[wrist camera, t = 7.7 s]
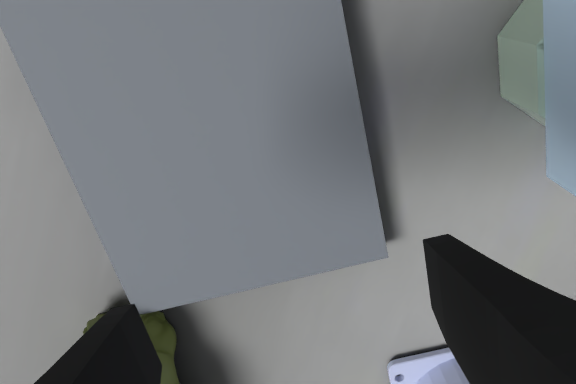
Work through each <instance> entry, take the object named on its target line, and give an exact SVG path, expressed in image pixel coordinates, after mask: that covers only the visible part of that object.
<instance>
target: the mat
mask: <svg viewBox="0 0 576 384" xmlns="http://www.w3.org/2000/svg"><path fill="white" fill-rule="evenodd" d="M0 27H1V29H2V31H3V33H4V35H5V38H6V40H7V42H8V44H9V46H10V48H11V50H12V53H13V55H14V57H15V59H16V61H17V63H18V65H19V67H20V70H21V72H22V74H23V76H24V78H25V80H26V82H27V84H28V87H29V89H30V91H31V93H32V95H33V97H34V99H35V102H36V104H37V106H38V108H39V110H40V112H41V114H42V116H43V119H44V121H45V123H46V125H47V127H48V129H49V131H50V133H51V136H52V138H53V140H54V142H55V144H56V146H57V148H58V151H59V153H60V155H61V157H62V159H63V161H64V163H65V165H66V168H67V170H68V172H69V174H70V176H71V178H72V180H73V183H74V185H75V187H76V189H77V191H78V193H79V195H80V197H81V200H82V202H83V204H84V206H85V208H86V210H87V212H88V214H89V217H90V219H91V221H92V223H93V225H94V227H95V229H96V232H97V234H98V236H99V238H100V240H101V242H102V244H103V246H104V249H105V251H106V253H107V255H108V257H109V259H110V261H111V263H112V266H113V268H114V270H115V272H116V274H117V276H118V278H119V281H120V283H121V285H122V287H123V289H124V291H125V293H126V295H127V298H128V300H129V302H130V304H135V305H136V308H137V310H138V312H139V314H147V313H151V312H155V311H160V310H164V309H168V308H173V307H177V306H181V305H186V304H190V303H194V302H199V301H203V300H207V299H211V298H216V297H220V296H224V295H229V294H233V293H237V292H242V291H246V290H250V289H255V288H259V287H263V286H267V285H272V284H276V283H280V282H285V281H289V280H293V279H298V278H302V277H306V276H311V275H315V274H319V273H323V272H328V271H332V270H336V269H341V268H345V267H349V266H354V265H358V264H362V263H367V262H371V261H375V260H379V259H384V258H388V252H387V247H386V242H385V236H384V231H383V225H382V220H381V214H380V209H379V204H378V198H377V193H376V187H375V182H374V176H373V171H372V165H371V160H370V155H369V149H368V144H367V138H366V133H365V127H364V122H363V117H362V111H361V106H360V100H359V95H358V89H357V84H356V78H355V73H354V68H353V62H352V57H351V51H350V46H349V40H348V35H347V30H346V24H345V19H344V13H343V8H342V2H341V0H0Z"/></svg>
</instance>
